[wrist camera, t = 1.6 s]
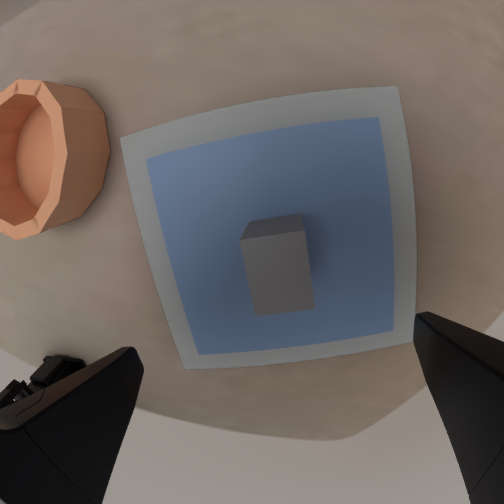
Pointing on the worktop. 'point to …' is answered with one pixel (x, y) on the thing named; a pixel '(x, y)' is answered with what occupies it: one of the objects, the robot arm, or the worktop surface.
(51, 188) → the bowl
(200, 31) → the worktop surface
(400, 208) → the mat
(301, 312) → the cover sheet
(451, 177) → the worktop surface
